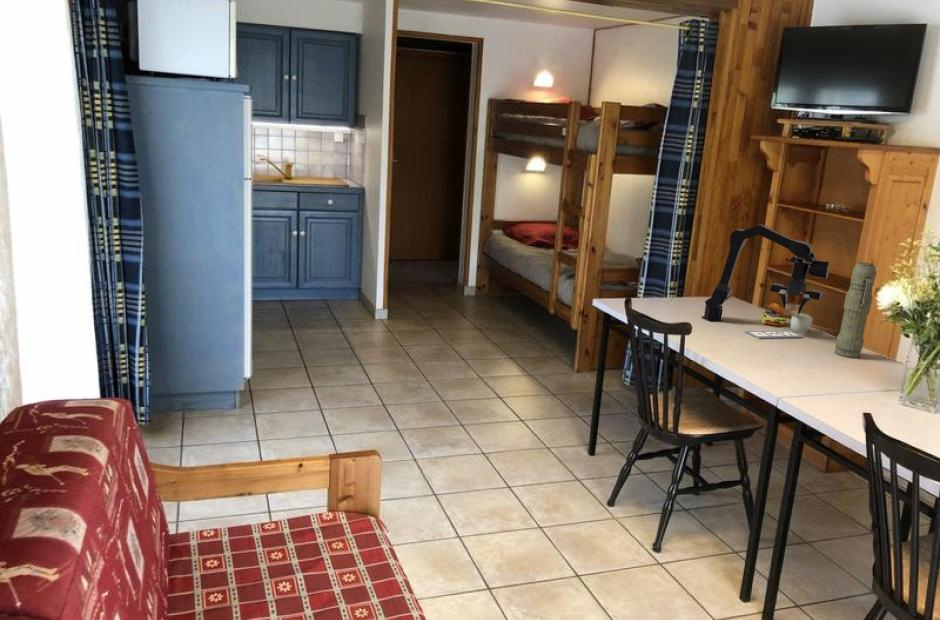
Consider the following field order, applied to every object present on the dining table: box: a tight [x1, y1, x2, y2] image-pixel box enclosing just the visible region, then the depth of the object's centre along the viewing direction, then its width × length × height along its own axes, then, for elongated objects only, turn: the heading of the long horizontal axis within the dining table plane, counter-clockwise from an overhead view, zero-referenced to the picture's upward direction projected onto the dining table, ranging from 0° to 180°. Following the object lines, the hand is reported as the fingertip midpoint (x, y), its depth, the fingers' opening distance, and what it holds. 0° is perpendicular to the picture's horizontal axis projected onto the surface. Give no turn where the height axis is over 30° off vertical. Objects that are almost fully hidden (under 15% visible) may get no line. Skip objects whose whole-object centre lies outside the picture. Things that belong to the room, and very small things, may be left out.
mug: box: [788, 312, 814, 335], centre depth 320 cm, size 9×7×7 cm
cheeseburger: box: [760, 302, 790, 327], centre depth 329 cm, size 10×11×10 cm
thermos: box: [834, 261, 877, 359], centre depth 287 cm, size 9×12×35 cm
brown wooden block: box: [784, 302, 801, 317], centre depth 311 cm, size 5×5×4 cm
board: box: [744, 329, 804, 340], centre depth 311 cm, size 21×9×1 cm, turn 108°
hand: (792, 312), depth 311 cm, fingers closed on brown wooden block, 5 cm apart
